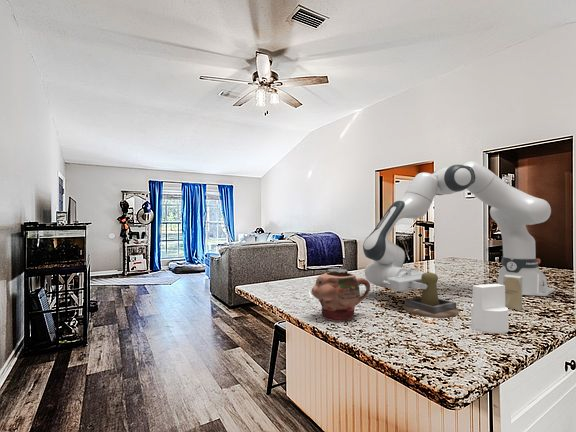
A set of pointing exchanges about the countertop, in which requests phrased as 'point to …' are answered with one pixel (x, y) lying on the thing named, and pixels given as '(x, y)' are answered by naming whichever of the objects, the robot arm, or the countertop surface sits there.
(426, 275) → the cork
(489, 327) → the base with upright slab
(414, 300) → the base
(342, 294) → the sculpted clay mug
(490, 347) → the countertop surface
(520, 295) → the box
